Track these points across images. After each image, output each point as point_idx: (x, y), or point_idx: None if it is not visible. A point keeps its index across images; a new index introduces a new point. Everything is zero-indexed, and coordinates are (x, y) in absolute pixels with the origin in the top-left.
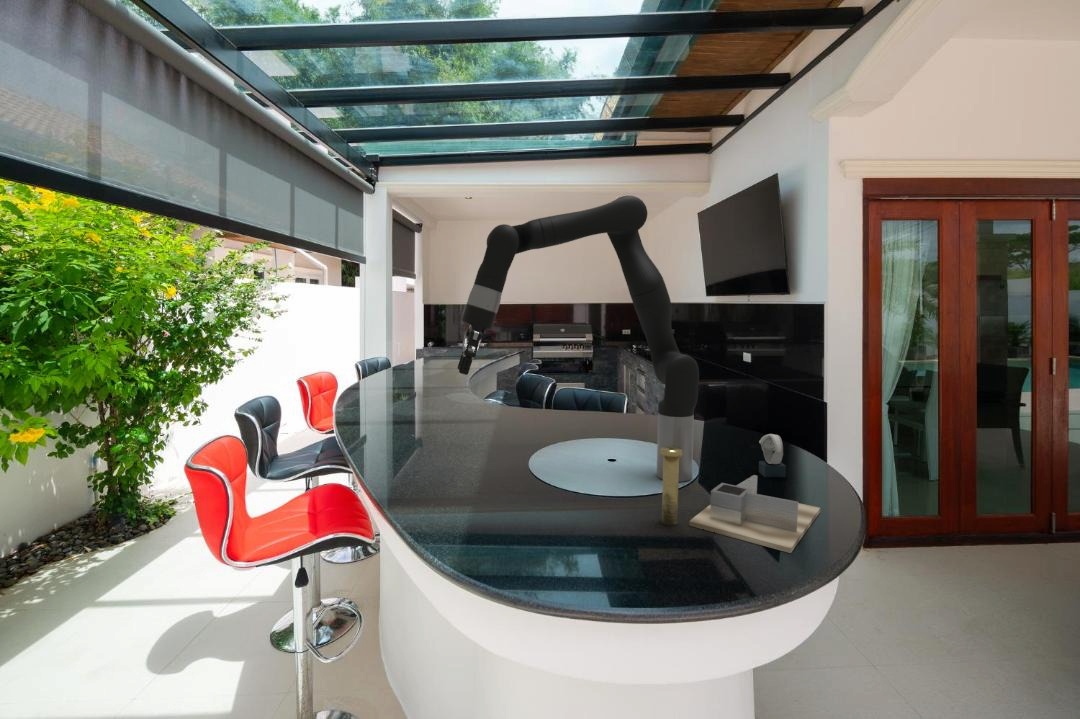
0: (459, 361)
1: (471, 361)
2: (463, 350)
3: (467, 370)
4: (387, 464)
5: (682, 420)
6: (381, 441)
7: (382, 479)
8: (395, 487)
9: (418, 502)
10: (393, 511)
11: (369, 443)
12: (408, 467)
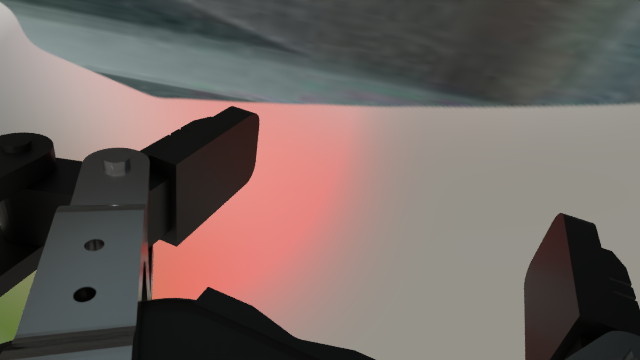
0: (217, 209)
1: (618, 321)
2: (151, 278)
3: (626, 271)
4: (198, 47)
5: None
6: (32, 27)
7: (303, 76)
8: (367, 62)
9: (506, 34)
10: (534, 98)
11: (53, 54)
12: (222, 4)
